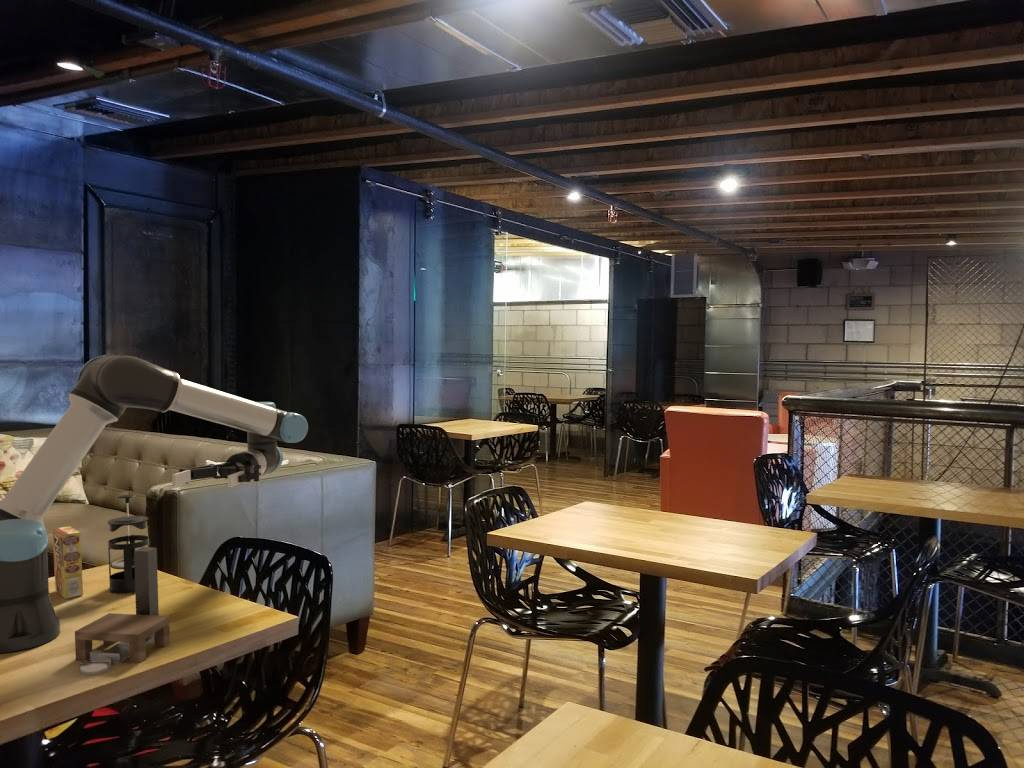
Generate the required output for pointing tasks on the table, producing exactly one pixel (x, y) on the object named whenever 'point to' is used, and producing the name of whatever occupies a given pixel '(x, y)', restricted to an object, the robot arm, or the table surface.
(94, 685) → the table surface
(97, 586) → the table surface
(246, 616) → the table surface
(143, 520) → the french press
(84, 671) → the disc
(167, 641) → the stand
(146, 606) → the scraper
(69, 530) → the candy box
